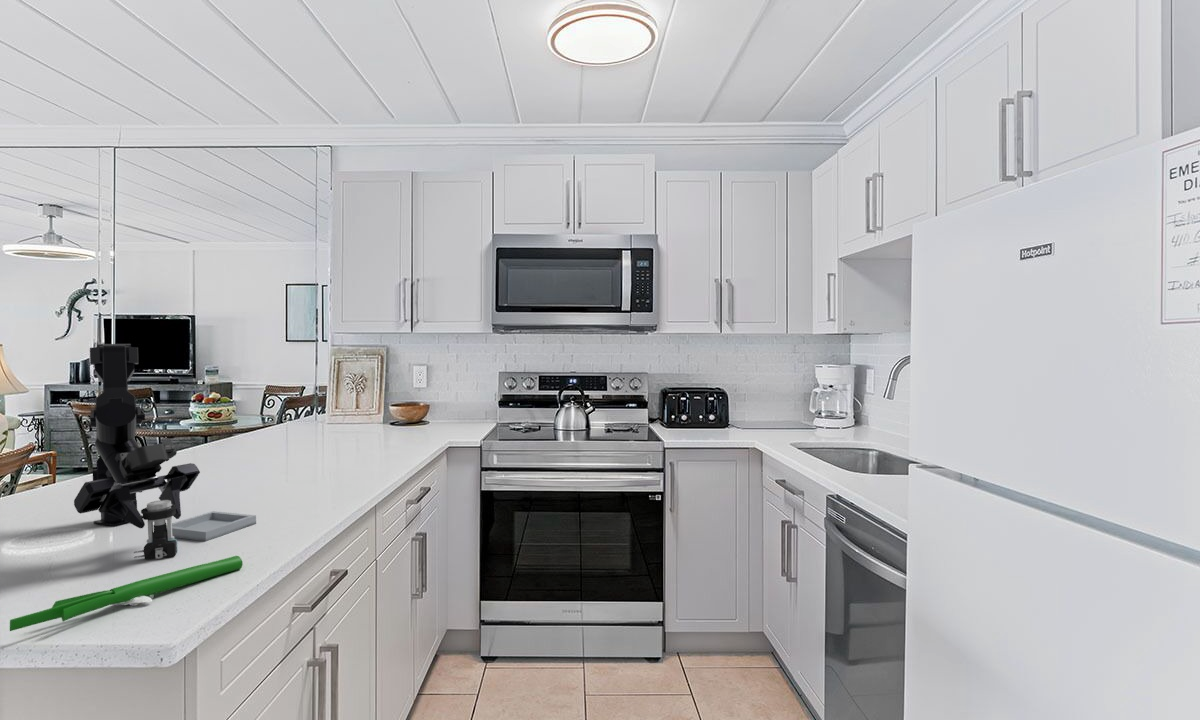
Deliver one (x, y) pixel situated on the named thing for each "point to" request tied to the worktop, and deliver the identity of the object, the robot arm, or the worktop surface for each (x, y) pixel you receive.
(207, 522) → the tray
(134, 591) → the green onion
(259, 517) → the worktop surface
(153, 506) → the push button
